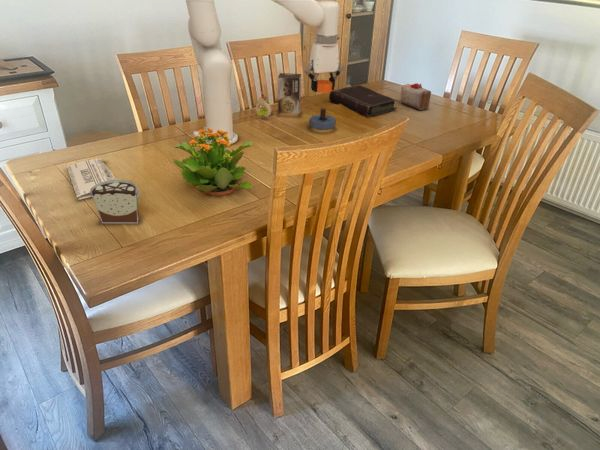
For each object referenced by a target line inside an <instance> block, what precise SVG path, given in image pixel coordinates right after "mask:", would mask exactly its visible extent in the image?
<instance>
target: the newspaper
mask: <svg viewBox="0 0 600 450" xmlns="http://www.w3.org/2000/svg"><path fill="white" fill-rule="evenodd" d="M66 170H67V173H68V176H69V179H70V183H71V185H72V187H73V190H74V193H75V196H76V199H77V200H79V201H80V200H85V199H88V198H93V197H92V195H91V196H90V193H89V192H90V189H91V188H92V187H93V186H95V185H96V184H98V183H101V182H104V181H108V180H116V179H117V178H116V177H115V175H114V174H113V172H112V171H111V169H110V168H109V167H108V166H107V165H106V164H105V163H104V161H103V160H102V159H101V158H98V157H96V158H91V159H86V160H82V161H78V162H74V163H72V164H69V165H67V166H66Z"/></svg>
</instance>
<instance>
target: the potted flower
mask: <svg viewBox="0 0 600 450" xmlns="http://www.w3.org/2000/svg"><path fill="white" fill-rule="evenodd" d="M198 131H199V135H200V136H199V135H198V137H196V139H191V140H189V143H188V142H186V141H183V142H182V143H176V144H175V145H174V146H173V148H175V149H180V150H183V151H185V152H187V153H188V154H190V155H189V158H188V157H185V158H183V159H182V160H181V161H179V160H178V159H174V158H173V159H172V161H173V163H174V164H175V165H176V166H177V167H179V168H181V175H182V179H183V180H184V181H185V182H186V183H188V184H189V185H193V186H195V187H194V189H196V190H198V191H200V192H201V191H202V192H205V193H206V194H208V195H210V196H217V197H219V196H227V195H229V194H231V193H233V192H234V191H235V190H236V189H245V190H246V189H248V190H249V189H253V188H254V187H253V184H252V183H251V182H250V183H249V182H248V181H247V180H245V181H243V182H241V183H240V184H237V182H236V181H237V180H239V179H241V178H242V177H243V176H244V174H245V170H246V167H245V166H241V165H239V166H238V165H237V164H238V163H239V161H240V160H241V159H242V157H243V154H244V153H245V151H243V150H244V149H246V148H251V147H253V145H254V143H253V142H252V141H249V140H247V141H244V142H243V143H242V144H241V145H240V146H239V147H238V148H236V149H232V150H231V151H230V149H227V148H229V147H230V146H231V144H230V143H229V138H228V135H227V134H228V132H227V131H226V132H225V131H224V132H223V130H222V131H221V130H217V133H212V132H213V130H212V129H210V128H208V131H207V130H204V129H199V130H198ZM206 132H207V133H206ZM205 135H207V136H206V139H208V140H207V141H206V139H205ZM219 137H221V138H222V139H223V138H224V140H222V139H221V138H220V139H219ZM213 139H214V140H213ZM209 140H210V142H211V140H212V142H211V144H206V142H209ZM210 142H209V143H210ZM196 147H198V150H196Z"/></svg>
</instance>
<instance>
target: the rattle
mask: <svg viewBox="0 0 600 450" xmlns="http://www.w3.org/2000/svg"><path fill="white" fill-rule="evenodd" d="M260 93H261V95H262V96H261V97H259V98H258V101H257V102H256V104H255V113H256V115H257V116H264V117H267V118H268V117H270V116H271V115H272V109H271V105H270V104H269V103H268V102H267V100H268V94H265V95H264V93H263V92H262V91H261V90H260ZM260 107H263V108H260Z"/></svg>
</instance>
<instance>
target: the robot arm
mask: <svg viewBox="0 0 600 450" xmlns="http://www.w3.org/2000/svg"><path fill="white" fill-rule="evenodd" d="M271 1H272V2H274V3H276V4H278V5H279V6H281V7H283V8H284V9H286V10H287V11H289V12H290V13H291V14H292V15H293V17H294V19H295V20H296V21H297V22H298V23H300V24H302V25H304V26H306V27H309V28H313V29H314V28H315V39H314V40H315V42H313V43H312V46H311V50H310V56H309V63H308V65H307V67H305V68H304V69H303V71H304V73H305V74H306V75H307V76H308V78H309V79H310V81H311V83H310V89H311V91H312V92H314V93H318V92H317V85H318V81H316V80H318V78H319V75H320V74H329V76H330V77H329V78H328V80H329V81H331V82H332V91H335V87H336V80H337V79H338V76H339V75H340V74H341V72H342V71H343V70H344V66H343V65H342V64H341V63H340V52H339V43H337V42H338V41H339V40H340V39H341V36H340V35H339V34H338V28H339V18H340V17H339V16H340V15H339V14H340V3H338V2H337V1H334V0H320V1H319V0H271ZM185 3H186V7H187V8H186V9H187V13H188V16H189V18H188V22H187V28H188V34H189V37H190V41H191V45H192V48H193V51H194V56H195V59H196V62H197V64H198V66H199V67H200V70H201V73H202V94H203V105H204V116H205V117H204V118H205V126H203V130H207V131H208V128H210V129H212V130H213V132H212V133H217V130H221V131H222V130H223V132H224V131H225V132H226V131H227V132H228V134H227V135H228V138H229V143H230V145H232V144H234V143H236V142H237V141H238V140H239V137H238V134H237V133H235V132H234V122H233V120H234V119H233V103H232V102H233V101H232V64H231V61H230V58H229V57H228V55H227V53H225V51H223V48H222V46H221V45H222V44H221V41H220V40H221V35H222V29H221V24H220V21H219V18H218V14H217V9H216V7H215V0H185ZM311 72H312V73H311ZM206 133H207V132H206ZM192 135H193V137H194V138H198V135H199V130H196V131H193V132H192ZM199 136H200V135H199ZM206 136H207V135H205V139H206ZM220 138H221V137H219V139H220ZM221 139H222V138H221ZM207 140H208V139H206V141H207ZM213 140H214V139H213ZM222 140H224V138H223V139H222ZM209 142H210V140H209ZM209 142H206V145H209V144H211V142H212V140H211V142H210V143H209Z"/></svg>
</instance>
